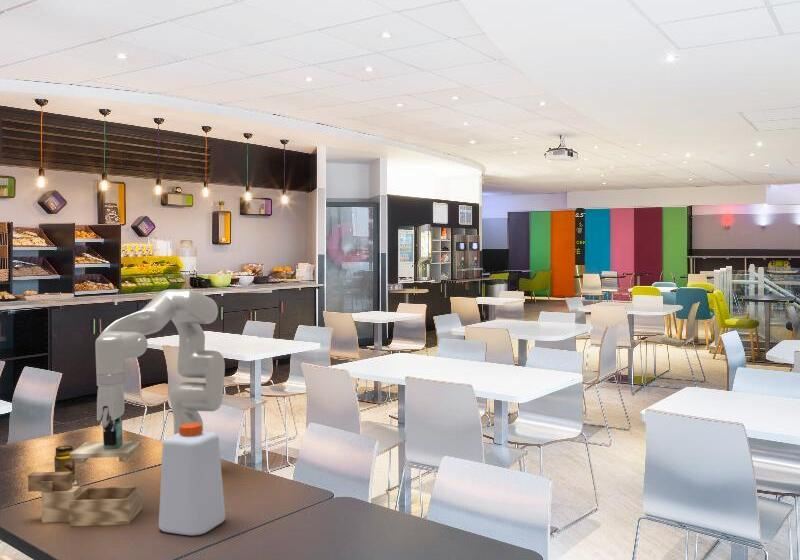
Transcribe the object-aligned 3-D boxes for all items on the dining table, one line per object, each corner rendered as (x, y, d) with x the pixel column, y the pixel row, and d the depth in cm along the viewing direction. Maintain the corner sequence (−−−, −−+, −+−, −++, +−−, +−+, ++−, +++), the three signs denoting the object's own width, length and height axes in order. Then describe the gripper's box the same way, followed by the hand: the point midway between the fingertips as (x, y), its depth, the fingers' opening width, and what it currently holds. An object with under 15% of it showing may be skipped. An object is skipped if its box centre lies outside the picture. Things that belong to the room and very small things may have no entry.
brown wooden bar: (72, 487, 211) (72, 471, 211) (68, 490, 208) (67, 474, 208) (33, 488, 211) (32, 472, 211) (28, 491, 208) (27, 475, 208)
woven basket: (141, 509, 217) (140, 471, 217) (128, 524, 205) (127, 483, 205) (54, 512, 216) (53, 473, 215) (36, 527, 204) (35, 485, 203)
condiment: (78, 483, 242) (77, 447, 242) (49, 488, 238) (48, 451, 237) (74, 478, 249) (73, 443, 248) (46, 482, 244) (45, 446, 244)
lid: (141, 450, 217) (140, 417, 216) (128, 463, 205) (127, 427, 204) (85, 452, 216) (84, 418, 216) (69, 464, 204) (68, 429, 204)
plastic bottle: (231, 519, 209) (229, 420, 208) (200, 538, 194) (198, 433, 193) (185, 513, 213) (183, 417, 212) (152, 532, 199) (149, 429, 198)
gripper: (107, 374, 218) (109, 435, 218) (86, 385, 201) (88, 451, 202) (133, 373, 218) (135, 434, 219) (114, 384, 201) (116, 450, 202)
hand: (113, 442), depth 210 cm, fingers closed on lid, 4 cm apart
